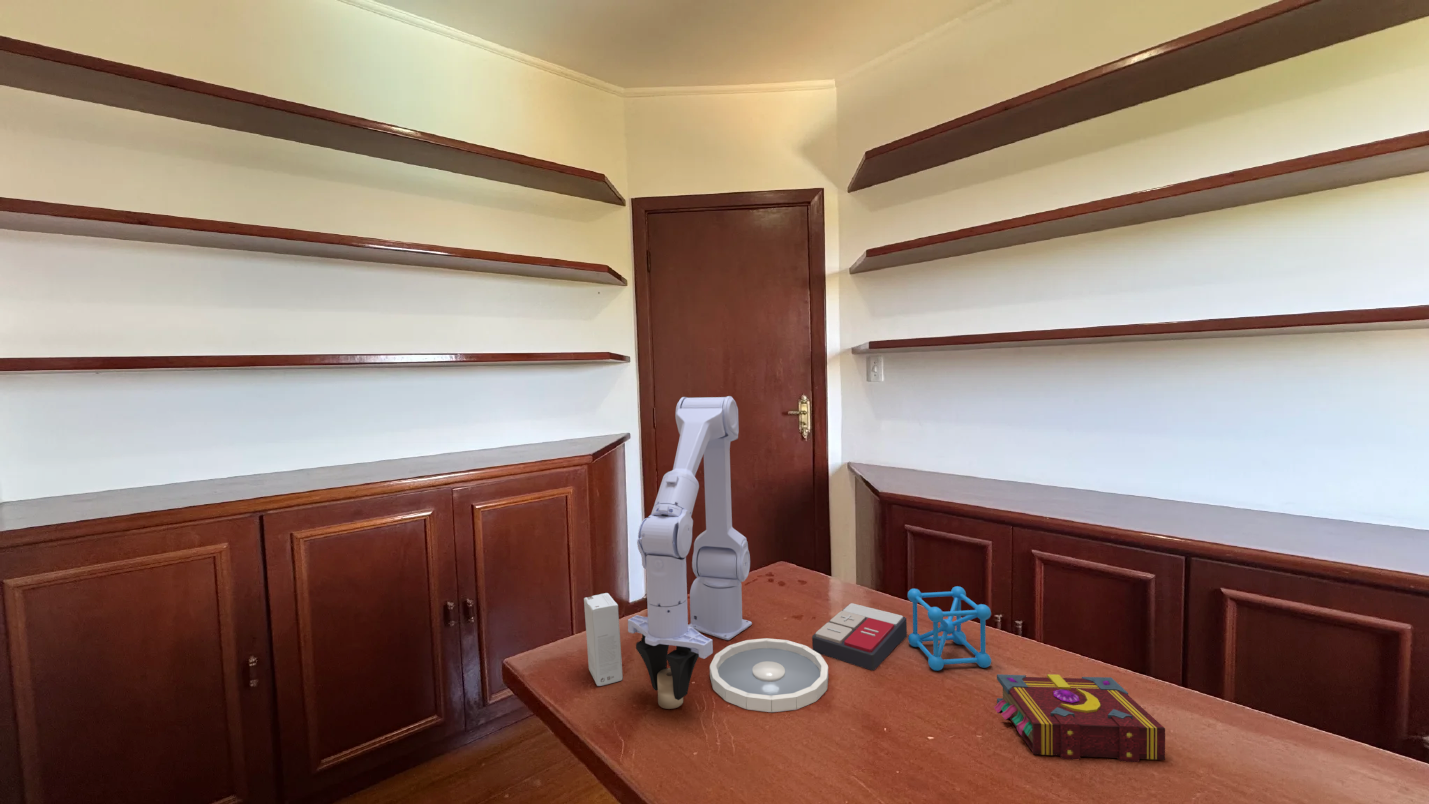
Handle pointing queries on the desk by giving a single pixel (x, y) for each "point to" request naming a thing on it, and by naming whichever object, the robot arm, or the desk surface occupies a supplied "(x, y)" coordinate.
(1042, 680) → the decorative book
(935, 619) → the molecular structure
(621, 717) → the desk surface
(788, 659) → the ring tray
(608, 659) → the skincare box
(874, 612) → the calculator
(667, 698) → the wooden bead
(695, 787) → the desk surface
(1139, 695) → the desk surface
